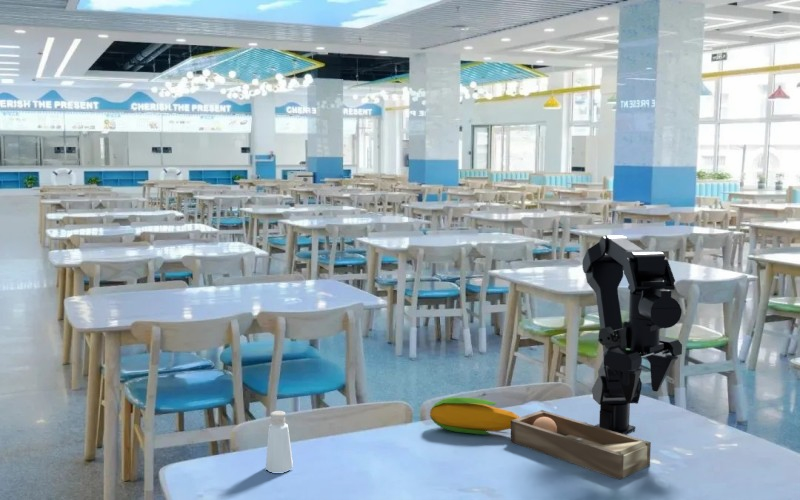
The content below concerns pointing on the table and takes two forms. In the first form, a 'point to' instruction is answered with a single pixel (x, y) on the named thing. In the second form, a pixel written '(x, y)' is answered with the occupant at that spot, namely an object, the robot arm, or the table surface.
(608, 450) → the brown wooden open box
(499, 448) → the table surface
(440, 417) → the corn
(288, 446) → the pepper shaker
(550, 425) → the ball
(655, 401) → the table surface
